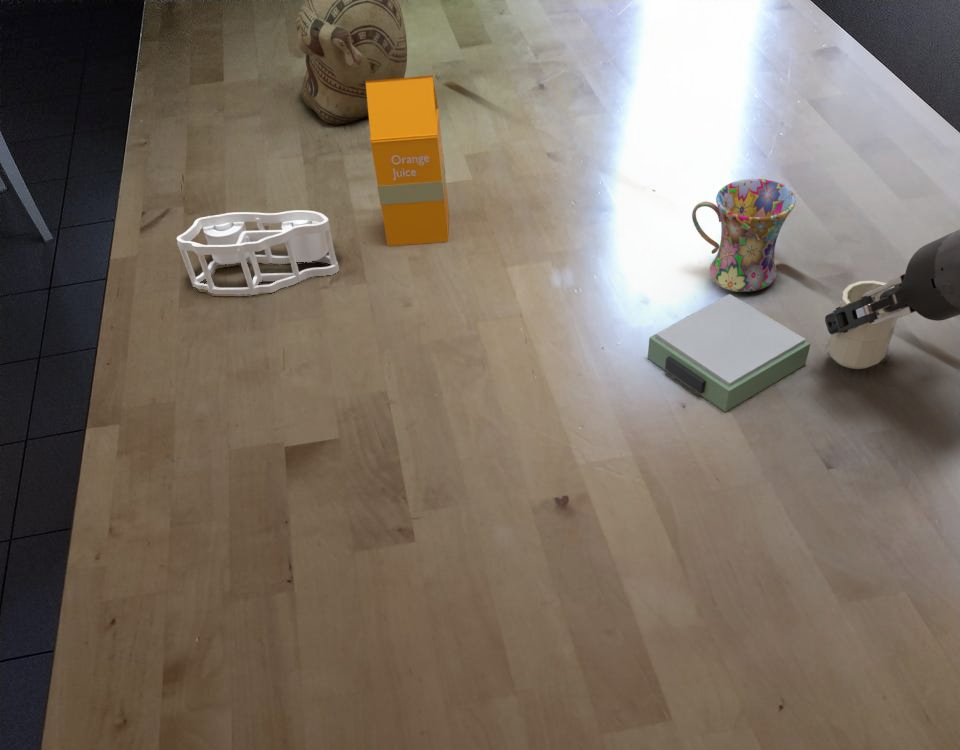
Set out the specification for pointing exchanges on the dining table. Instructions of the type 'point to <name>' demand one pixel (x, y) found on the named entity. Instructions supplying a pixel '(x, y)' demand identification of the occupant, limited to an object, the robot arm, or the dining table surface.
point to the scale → (728, 351)
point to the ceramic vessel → (349, 53)
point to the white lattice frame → (260, 248)
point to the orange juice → (408, 159)
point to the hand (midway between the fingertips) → (855, 314)
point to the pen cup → (862, 333)
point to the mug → (747, 232)
